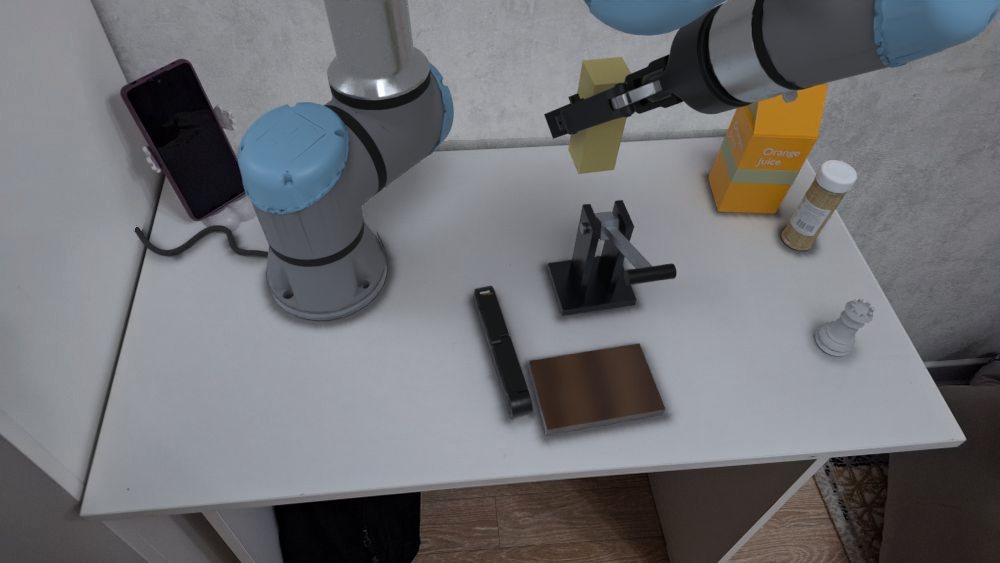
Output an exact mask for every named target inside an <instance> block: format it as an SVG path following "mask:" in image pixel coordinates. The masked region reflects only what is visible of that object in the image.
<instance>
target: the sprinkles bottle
mask: <svg viewBox="0 0 1000 563" xmlns="http://www.w3.org/2000/svg"><path fill="white" fill-rule="evenodd" d="M857 180H858V172H857V171H856V169H855V168H854V167H853V166H852V165H850V164H848V163H847V162H845V161H843V160H842V161H841V160H837V159H830V160H825V161H824V162H822V164H821V165H820V167H819V168H818V170H817V171H816V173H815V175H814V180H813V181H812V183H811V184H810V186H809V188H808V189H807V190H806V192H805V194H804V195H803V197H802V199H801V200H800V202H799V203H798V205H797V207H796V209H795V210H794V211H793V214H792V215H791V217H790V220H789V221H788V223H787V225H786V226H785V228H783V229H782V231H781V233H780V236H781V240H782V241H783V242H784V244H785V245H786V246H787V247H789V248H790V249H793V250H796V251H801V252H802V251H808V250H810V249H811V248H812V247H813V246H814V244H815V241H816V240H817V238H818V237H819V235H820V234H821V233H822V232H823V231H824V228H825V227H826V226H827V224H828V222H829V221H830V220H831V219H832V216H833V214H834V212H836V209H837V208H838V206H839V205H840V203H841V202H842V200H843V199H844V198H845V196H846V194H847V193H849V191H850V190H852V188H853V187H854V185H855V183H856V181H857Z"/></svg>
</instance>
